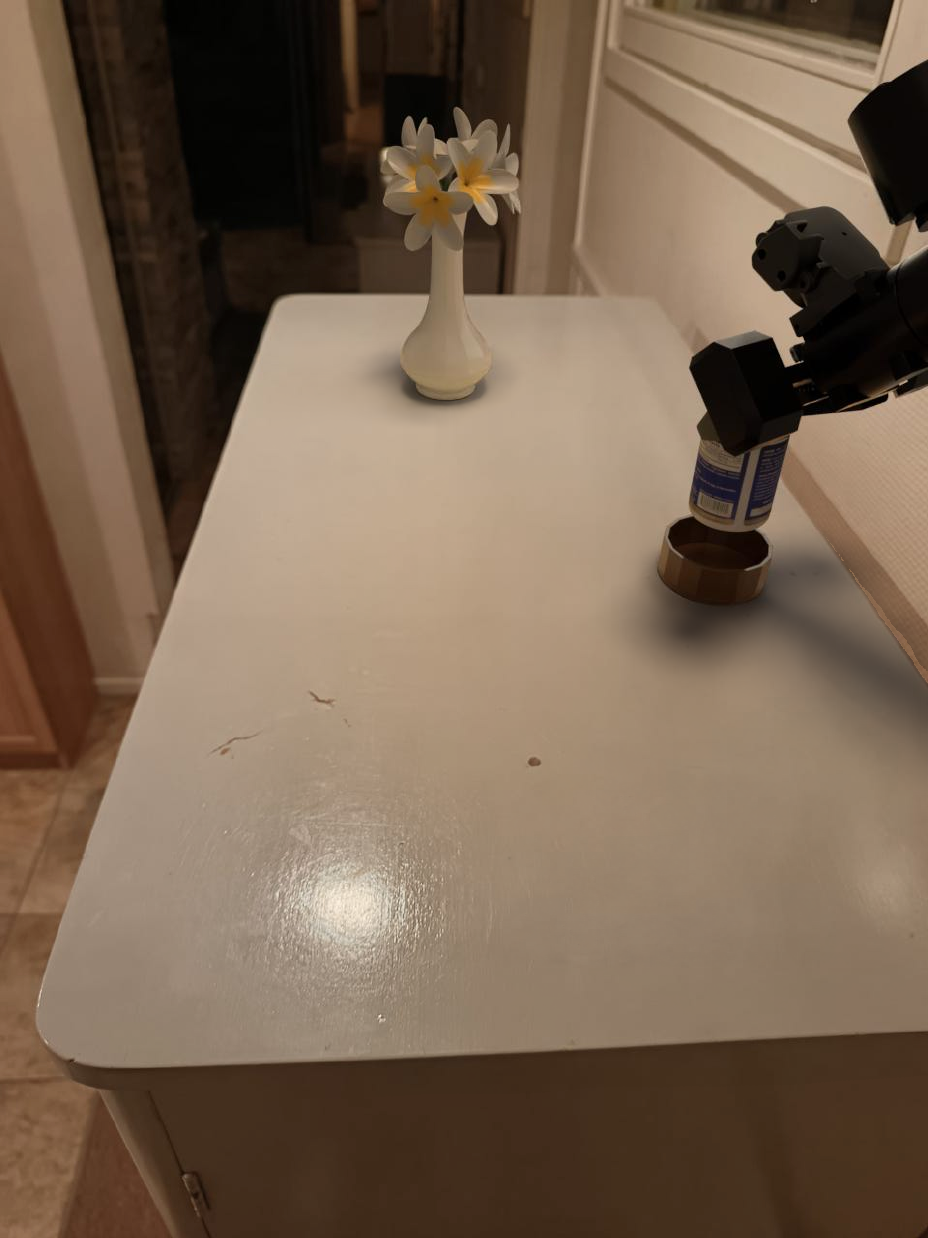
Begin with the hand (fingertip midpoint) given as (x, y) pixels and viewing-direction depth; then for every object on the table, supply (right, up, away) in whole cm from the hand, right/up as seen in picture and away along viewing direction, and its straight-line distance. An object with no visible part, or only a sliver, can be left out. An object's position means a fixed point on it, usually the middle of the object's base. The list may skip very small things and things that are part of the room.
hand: (731, 422), depth 60 cm
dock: (0, -10, +7) cm, 12 cm away
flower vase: (-20, +10, +32) cm, 39 cm away
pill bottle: (+1, -6, +3) cm, 7 cm away
